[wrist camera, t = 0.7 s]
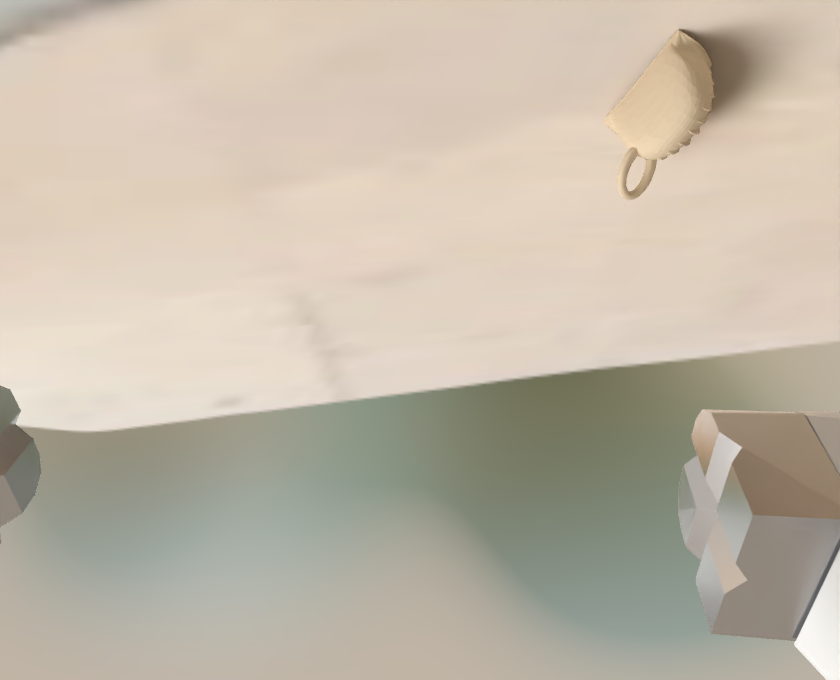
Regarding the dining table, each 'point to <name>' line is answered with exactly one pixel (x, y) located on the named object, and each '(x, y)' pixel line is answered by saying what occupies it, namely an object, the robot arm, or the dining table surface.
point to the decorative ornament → (663, 107)
